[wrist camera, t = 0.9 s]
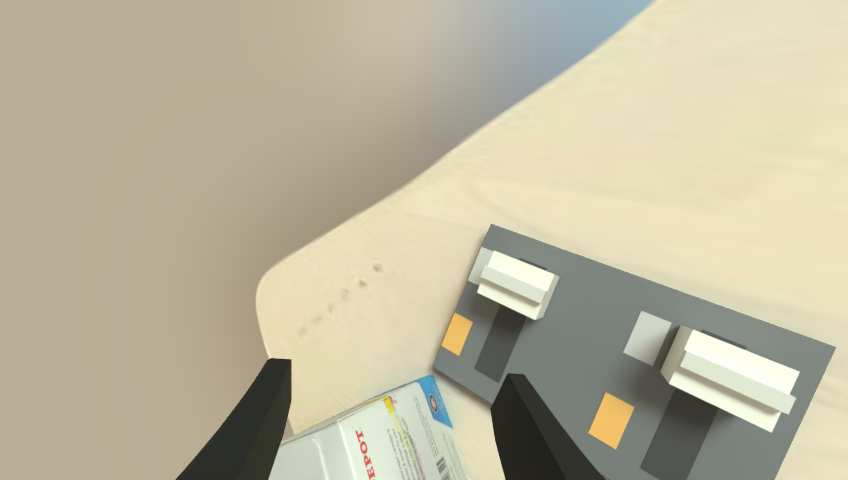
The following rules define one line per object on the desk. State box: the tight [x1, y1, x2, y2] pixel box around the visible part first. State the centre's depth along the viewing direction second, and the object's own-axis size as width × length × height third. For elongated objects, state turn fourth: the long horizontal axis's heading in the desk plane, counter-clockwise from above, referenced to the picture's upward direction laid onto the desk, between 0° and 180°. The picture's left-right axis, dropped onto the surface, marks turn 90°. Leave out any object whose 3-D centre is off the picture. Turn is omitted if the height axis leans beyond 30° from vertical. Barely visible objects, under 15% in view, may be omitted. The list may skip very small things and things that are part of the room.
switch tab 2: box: [660, 325, 800, 433], centre depth 17 cm, size 4×3×4 cm
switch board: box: [433, 224, 836, 480], centre depth 22 cm, size 19×12×2 cm, turn 65°
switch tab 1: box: [477, 250, 560, 320], centre depth 22 cm, size 4×3×4 cm
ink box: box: [268, 375, 472, 480], centre depth 23 cm, size 9×8×12 cm
